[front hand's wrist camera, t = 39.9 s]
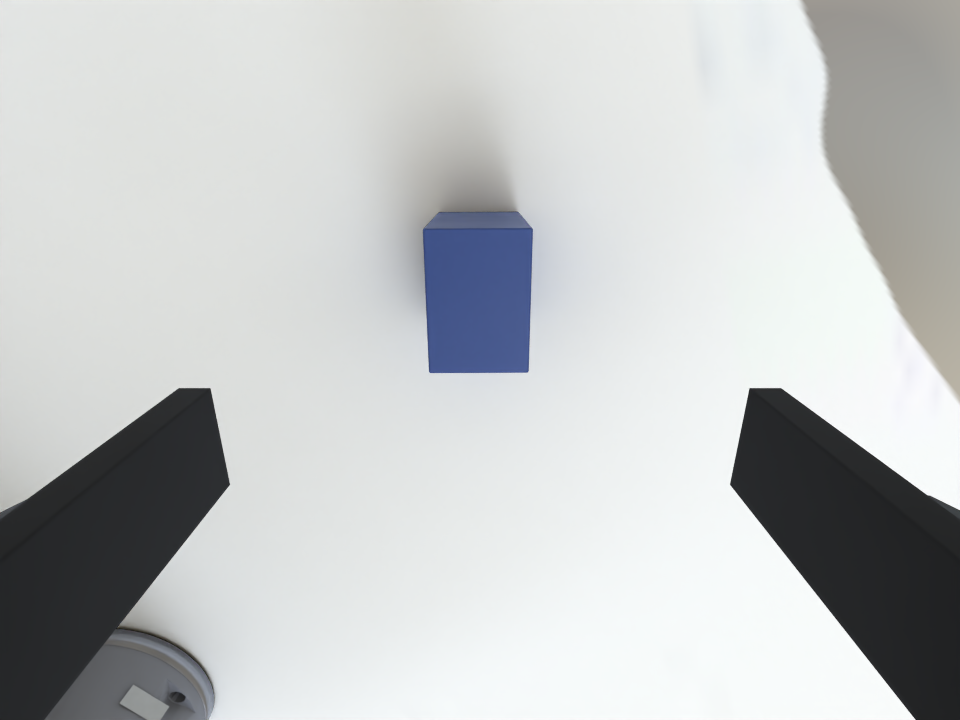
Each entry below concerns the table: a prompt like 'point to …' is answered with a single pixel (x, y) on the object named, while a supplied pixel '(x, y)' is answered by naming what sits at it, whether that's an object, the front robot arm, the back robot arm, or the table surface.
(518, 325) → the block
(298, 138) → the table surface
